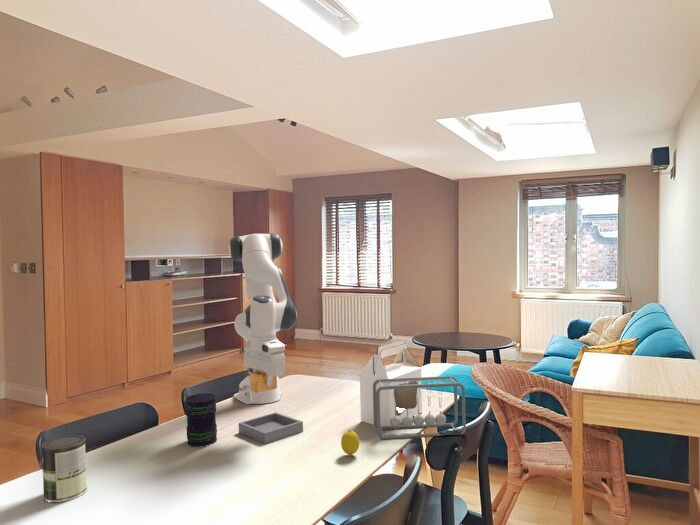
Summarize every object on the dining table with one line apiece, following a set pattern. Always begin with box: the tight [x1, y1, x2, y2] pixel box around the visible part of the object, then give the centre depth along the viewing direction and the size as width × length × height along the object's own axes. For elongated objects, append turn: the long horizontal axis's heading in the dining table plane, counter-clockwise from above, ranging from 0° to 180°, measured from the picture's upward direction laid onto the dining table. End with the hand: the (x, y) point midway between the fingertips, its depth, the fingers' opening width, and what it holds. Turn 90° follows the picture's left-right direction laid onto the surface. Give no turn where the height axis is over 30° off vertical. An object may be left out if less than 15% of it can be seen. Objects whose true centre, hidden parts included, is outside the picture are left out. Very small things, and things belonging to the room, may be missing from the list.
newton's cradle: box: [373, 375, 467, 440], centre depth 178 cm, size 30×10×18 cm, turn 94°
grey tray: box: [238, 411, 304, 445], centre depth 182 cm, size 16×16×4 cm
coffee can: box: [40, 434, 88, 503], centre depth 138 cm, size 10×10×14 cm
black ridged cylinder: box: [185, 393, 218, 448], centre depth 174 cm, size 10×10×15 cm
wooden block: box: [250, 371, 278, 393], centre depth 178 cm, size 4×8×6 cm, turn 133°
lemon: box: [340, 429, 360, 457], centre depth 159 cm, size 6×6×8 cm
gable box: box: [359, 340, 423, 427], centre depth 194 cm, size 22×13×28 cm, turn 141°
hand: (263, 383), depth 178 cm, fingers closed on wooden block, 4 cm apart
